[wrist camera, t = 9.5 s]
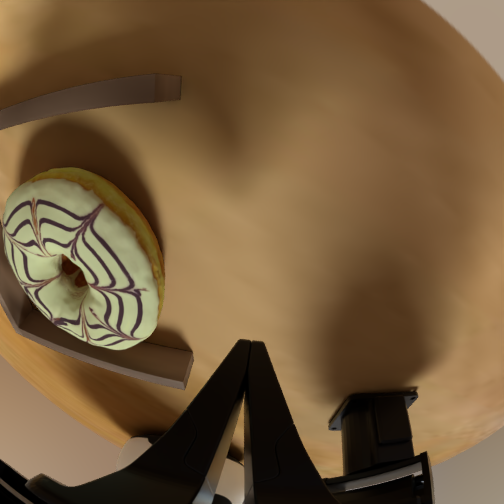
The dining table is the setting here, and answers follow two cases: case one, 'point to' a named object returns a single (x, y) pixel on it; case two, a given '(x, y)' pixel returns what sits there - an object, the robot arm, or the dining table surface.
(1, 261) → the u-shaped brown rail
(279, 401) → the robot arm
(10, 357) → the dining table surface
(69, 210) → the decorated donut
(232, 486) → the milk container
